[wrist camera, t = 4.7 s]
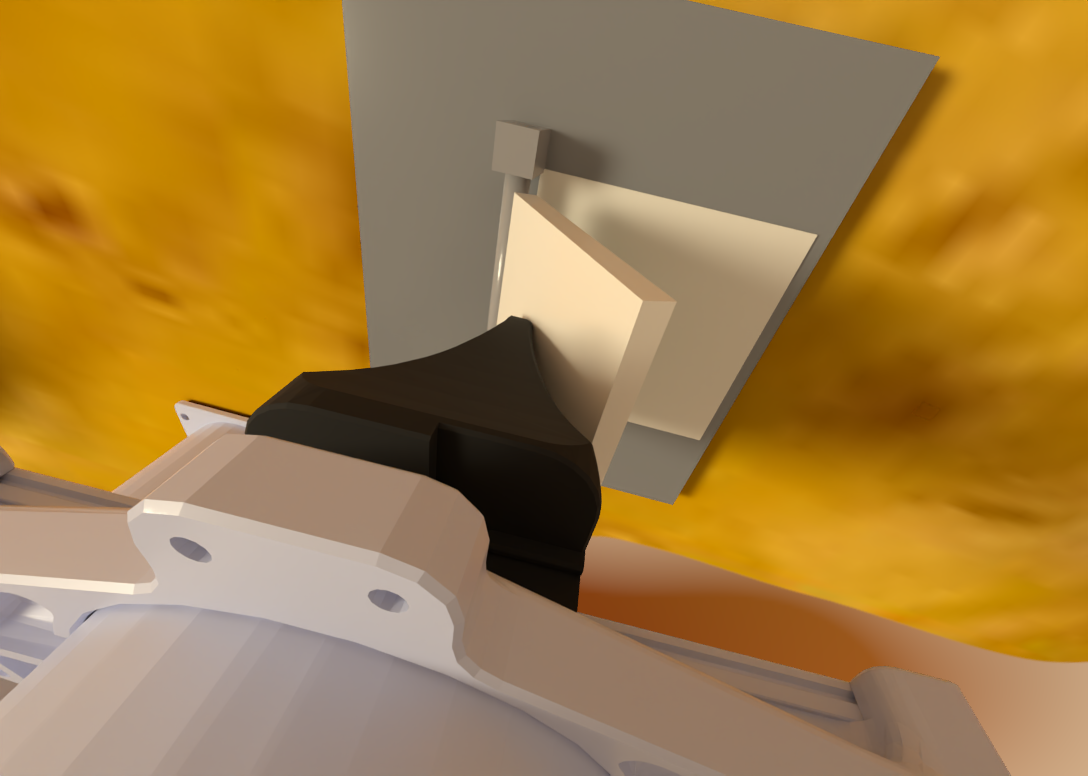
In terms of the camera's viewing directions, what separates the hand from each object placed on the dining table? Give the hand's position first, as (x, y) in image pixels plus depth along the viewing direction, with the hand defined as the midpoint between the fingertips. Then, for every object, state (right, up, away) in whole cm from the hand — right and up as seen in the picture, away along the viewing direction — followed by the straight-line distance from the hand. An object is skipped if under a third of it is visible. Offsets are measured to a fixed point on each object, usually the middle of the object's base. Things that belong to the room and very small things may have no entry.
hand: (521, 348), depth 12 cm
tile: (0, -1, -1) cm, 1 cm away
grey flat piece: (+1, +3, +4) cm, 5 cm away
